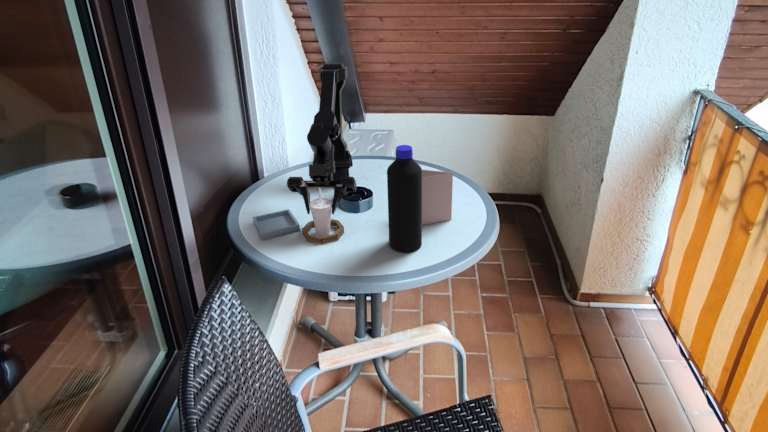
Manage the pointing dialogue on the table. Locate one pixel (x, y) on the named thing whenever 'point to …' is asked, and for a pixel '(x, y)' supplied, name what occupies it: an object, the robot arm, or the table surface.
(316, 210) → the smoothie
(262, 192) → the table surface
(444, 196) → the greeting card
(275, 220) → the tray
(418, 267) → the table surface
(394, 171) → the bottle
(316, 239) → the collar
